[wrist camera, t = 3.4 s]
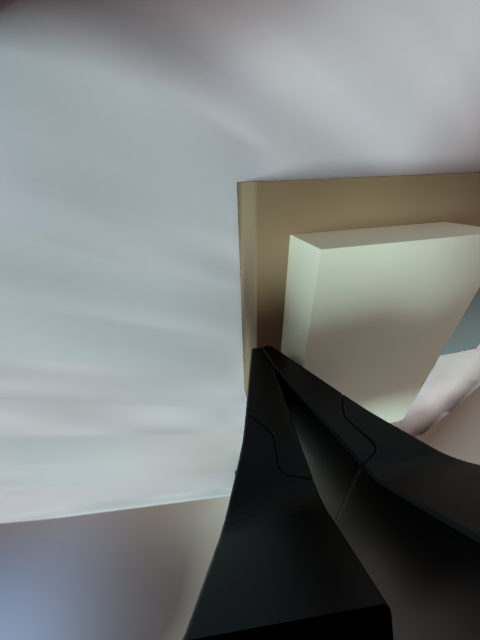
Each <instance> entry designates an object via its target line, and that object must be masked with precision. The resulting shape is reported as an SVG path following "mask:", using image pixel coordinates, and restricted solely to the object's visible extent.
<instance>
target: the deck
mask: <svg viewBox="0 0 480 640" xmlns="http://www.w3.org/2000/svg"><path fill="white" fill-rule="evenodd" d="M237 195H238V223H239V250H240V278H241V305H242V332H243V360H244V387H245V393H246V396H247V394H248V382H249V370H250V359H251V349H252V348H258V347H263V346H269V345H270V346H273V347H274V348H276V349H277V350H279V351H280V352H281V343H282V330H283V318H284V305H285V292H286V280H287V267H288V254H289V242H290V234H302V233H314V232H326V231H339V230H351V229H363V228H375V227H387V226H399V225H411V224H423V223H435V222H450V223H457V224H464V225H471V226H478V227H480V172H473V173H449V174H426V175H402V176H378V177H354V178H331V179H307V180H283V181H259V182H238V183H237Z"/></svg>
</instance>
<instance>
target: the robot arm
mask: <svg viewBox="0 0 480 640" xmlns="http://www.w3.org/2000/svg"><path fill="white" fill-rule="evenodd" d="M182 640H480V465H477V464H472V463H469V462H465V461H462V460H459V459H456V458H453V457H451V456H449V455H446V454H444V453H442V452H440V451H438V450H436V449H434V448H432V447H430V446H429V445H427V444H425V443H423V442H422V441H420V440H418V439H416V438H415V437H413V436H411V435H409V434H408V433H406V432H404V431H402V430H401V429H399V428H397V427H395V426H394V425H392V424H390V423H388V422H387V421H385V420H383V419H382V418H380V417H378V416H376V415H375V414H373V413H371V412H370V411H368V410H367V409H365V408H363V407H362V406H360V405H359V404H357V403H356V402H354V401H353V400H351V399H350V398H348V397H347V396H345V395H342V393H341V392H339V391H338V390H336V389H335V388H333V387H332V386H330V385H329V384H327V383H326V382H324V381H323V380H321V379H320V378H318V377H317V376H316V375H314V374H313V373H311V372H310V371H308V370H307V369H305V368H304V367H302V366H301V365H299V364H298V363H296V362H295V361H293V360H292V359H290V358H289V357H287V356H286V355H284V354H283V353H282V352H280V351H279V350H277V349H276V348H274V347H273V346H270V345H269V346H263V347H258V348H252V349H251V359H250V370H249V382H248V394H247V406H246V417H245V428H244V436H243V443H242V448H241V453H240V458H239V462H238V467H237V470H236V471H235V480H234V484H233V488H232V493H231V497H230V501H229V506H228V510H227V514H226V517H225V521H224V525H223V528H222V531H221V535H220V538H219V541H218V543H217V546H216V549H215V552H214V555H213V557H212V560H211V563H210V566H209V568H208V571H207V574H206V577H205V580H204V582H203V585H202V588H201V590H200V593H199V596H198V599H197V601H196V604H195V607H194V610H193V613H192V615H191V618H190V621H189V624H188V627H187V629H186V632H185V634H184V636H183V639H182Z"/></svg>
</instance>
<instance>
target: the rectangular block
mask: <svg viewBox="0 0 480 640" xmlns="http://www.w3.org/2000/svg"><path fill="white" fill-rule="evenodd" d="M479 287H480V227H478V226H471V225H464V224H457V223H450V222H435V223H423V224H411V225H399V226H387V227H375V228H363V229H351V230H339V231H326V232H314V233H302V234H290V242H289V254H288V267H287V280H286V292H285V305H284V318H283V330H282V343H281V352H282V353H283V354H284V355H286V356H287V357H289V358H290V359H292V360H293V361H295V362H296V363H298V364H299V365H301V366H302V367H304V368H305V369H307V370H308V371H310V372H311V373H313V374H314V375H316V376H317V377H318V378H320V379H321V380H323V381H324V382H326V383H327V384H329V385H330V386H332V387H333V388H335V389H336V390H338V391H339V392H341V393H342V395H345V396H347V397H348V398H350V399H351V400H353V401H354V402H356V403H357V404H359V405H360V406H362V407H363V408H365V409H367V410H368V411H370V412H371V413H373V414H375V415H376V416H378V417H380V418H382V419H383V420H385V421H387V422H388V423H392V422H396V421H400V420H403V419H404V417H405V415H406V413H407V412H408V410H409V408H410V406H411V405H412V403H413V401H414V400H415V398H416V396H417V394H418V393H419V391H420V389H421V387H422V386H423V384H424V382H425V381H426V379H427V377H428V375H429V374H430V372H431V370H432V368H433V367H434V365H435V363H436V362H437V360H438V358H439V356H440V355H441V353H442V351H443V349H444V348H445V346H446V344H447V343H448V341H449V339H450V337H451V336H452V334H453V332H454V330H455V329H456V327H457V325H458V324H459V322H460V320H461V318H462V317H463V315H464V313H465V311H466V310H467V308H468V306H469V305H470V303H471V301H472V299H473V298H474V296H475V294H476V292H477V291H478V289H479Z"/></svg>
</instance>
